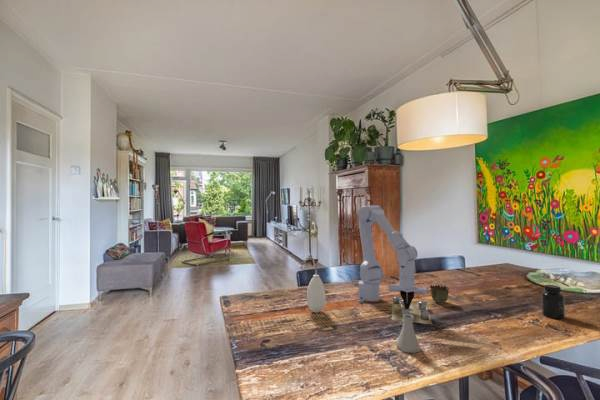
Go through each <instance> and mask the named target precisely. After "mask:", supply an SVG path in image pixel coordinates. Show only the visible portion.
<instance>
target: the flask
mask: <svg viewBox="0 0 600 400" xmlns="http://www.w3.org/2000/svg"><path fill="white" fill-rule="evenodd" d="M403 318H404V321H403V324H402V327H401V330H400V333H399V336H398V338H397V341H396V348H398V349H399V350H400V351H402V352H404V353H410V354H411V353H412V354H415V353H419V352H421V351H422V350H421V347H420V345H419V340H418V338H417V336H416V332H415V329H414V324H413V323H414V322H413V319H414V317H413V316H412V315H410V314H404V315H403Z"/></svg>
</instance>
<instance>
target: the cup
mask: <svg viewBox="0 0 600 400" xmlns="http://www.w3.org/2000/svg"><path fill="white" fill-rule="evenodd" d="M429 288H430V289H429V290H430V294H431V299H432V300H433V301H434V302H435V303H436V304H441V305H442V304H445V302H447V300H448V298H449V290H450V288H448V286H447V285H444V286H443V285H440V284H438V285H437V284H433V285H430V286H429Z"/></svg>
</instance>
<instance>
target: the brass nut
mask: <svg viewBox="0 0 600 400" xmlns="http://www.w3.org/2000/svg"><path fill="white" fill-rule="evenodd" d="M403 307H405V306H404V305H398V304H394V313H401V308H403Z"/></svg>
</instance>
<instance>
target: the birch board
mask: <svg viewBox="0 0 600 400" xmlns="http://www.w3.org/2000/svg"><path fill="white" fill-rule="evenodd" d="M400 305H401V302H400ZM426 310H428V307H427V305H426ZM428 311H429V310H428ZM409 314H410V315H412V316H413V317H414V319H413V323H419V324H424V325H433V322H432V319H431V316H430V315H429V320H422V319H421V310H419V309H418V304H412V303H411V304H410V308H409ZM391 321H400V322H404V318H403V317H401V313H394V305H393V302H391Z"/></svg>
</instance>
